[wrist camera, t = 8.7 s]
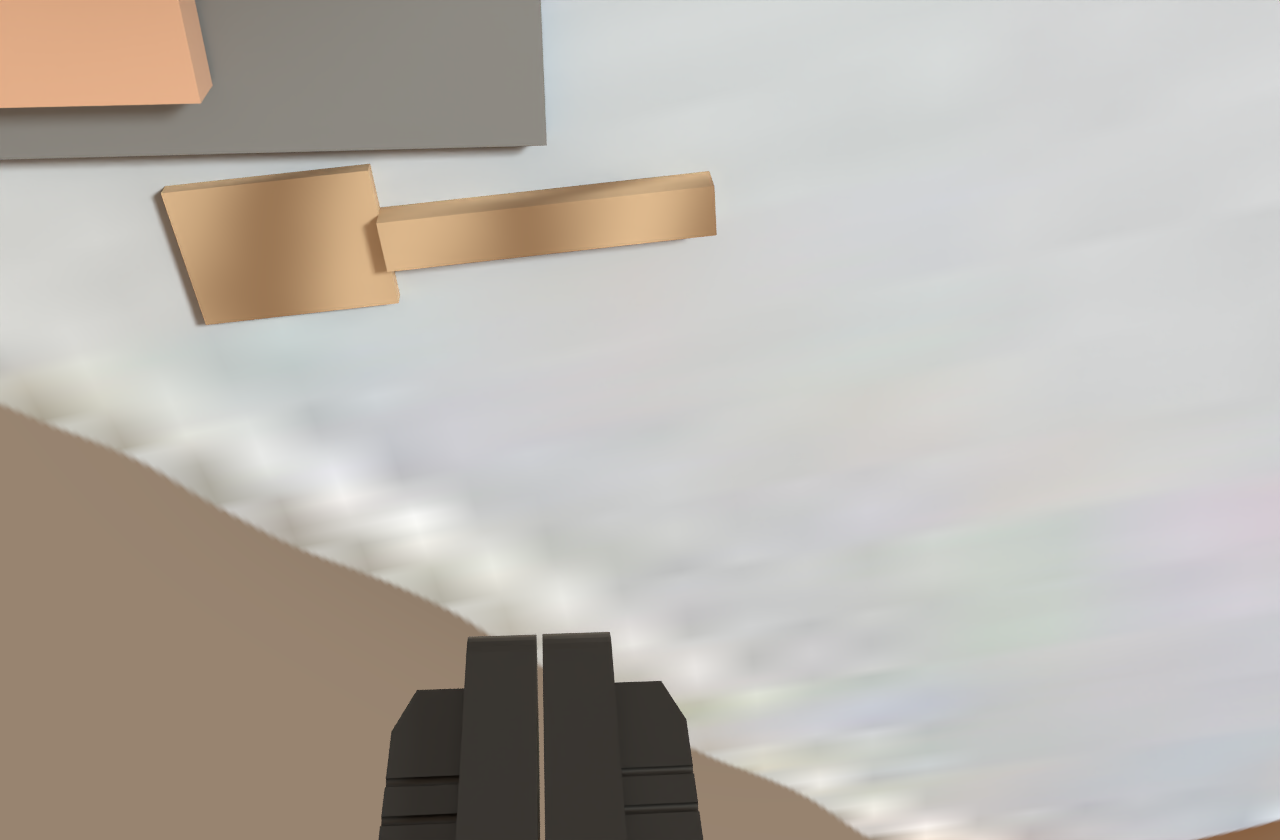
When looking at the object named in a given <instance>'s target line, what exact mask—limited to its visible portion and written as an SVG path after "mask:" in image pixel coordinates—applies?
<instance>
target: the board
mask: <svg viewBox="0 0 1280 840" xmlns="http://www.w3.org/2000/svg"><path fill="white" fill-rule="evenodd" d="M195 4H196V8H197V13H198V18H199V23H200V28H201V32H202V37H203V42H204V47H205V52H206V56H207V61H208V66H209V71H210V75H211V80H212V85H213V86H212V87H211V89H210V90H209V92H208V93H207V95H206V96H205V98H204V99H203V101H202V102H201V103H199V104H155V105H111V106H67V107H23V108H0V160H5V159H43V158H82V157H120V156H159V155H197V154H236V153H274V152H313V151H351V150H389V149H428V148H466V147H505V146H543V145H547V144H546V120H545V96H544V72H543V48H542V24H541V0H195Z"/></svg>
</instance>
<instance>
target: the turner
mask: <svg viewBox="0 0 1280 840" xmlns="http://www.w3.org/2000/svg"><path fill="white" fill-rule="evenodd" d="M161 196H162V198H163V201H164V204H165V207H166V210H167V213H168V216H169V219H170V222H171V225H172V228H173V230H174V233H175V236H176V239H177V242H178V245H179V248H180V251H181V254H182V257H183V260H184V263H185V265H186V268H187V271H188V274H189V277H190V280H191V283H192V286H193V289H194V292H195V295H196V298H197V300H198V303H199V306H200V309H201V312H202V315H203V318H204V321H205V324H206V325H209V324H218V323H227V322H236V321H244V320H253V319H262V318H271V317H280V316H289V315H298V314H306V313H315V312H324V311H333V310H342V309H351V308H360V307H368V306H377V305H386V304H395V303H399V297H400V293H399V289H398V284H397V280H396V276H395V271H401V270H410V269H419V268H428V267H437V266H446V265H454V264H463V263H472V262H481V261H490V260H499V259H508V258H517V257H526V256H535V255H544V254H552V253H561V252H570V251H579V250H588V249H597V248H606V247H615V246H624V245H633V244H642V243H650V242H659V241H668V240H677V239H686V238H695V237H704V236H713V235H716V214H715V192H714V184H713V181H712V178H711V175H710V172H709V171H707V172H698V173H689V174H680V175H670V176H661V177H652V178H643V179H634V180H625V181H616V182H607V183H598V184H589V185H580V186H571V187H562V188H553V189H544V190H535V191H526V192H517V193H508V194H499V195H490V196H481V197H471V198H462V199H453V200H444V201H435V202H426V203H417V204H408V205H399V206H390V207H381V208H380V206H379V201H378V197H377V193H376V188H375V184H374V179H373V175H372V171H371V166H370V164H364V165H355V166H345V167H336V168H327V169H318V170H309V171H300V172H291V173H282V174H272V175H263V176H254V177H245V178H236V179H227V180H218V181H209V182H199V183H190V184H181V185H172V186H165V187H164V189H163V191H162V192H161Z"/></svg>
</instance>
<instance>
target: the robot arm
mask: <svg viewBox="0 0 1280 840" xmlns="http://www.w3.org/2000/svg"><path fill="white" fill-rule="evenodd" d="M537 681H538V679H537V638H536V635H511V636H480V637H468V642H467V653H466V670H465V688H464V689H437V690H417V691H416V693H415V694H414V696H413V698H412V699H411V701H410V703H409V704H408V706H407V707H406V709H405V711H404V712H403V714H402V716H401V717H400V719H399V720H398V722H397V724H396V725H395V727H394V729H393V730H392V733H391V741H390V749H389V759H388V767H387V775H386V787H385V791H384V799H383V807H382V816H381V817H382V824H381V826H380V832H379V840H540V791H539V790H540V789H539V788H540V787H539V723H538V683H537ZM543 701H544V702H543V707H544V772H545V773H544V775H545V776H544V779H545V840H703V835H702V828H701V821H700V814H699V811H698V799H697V793H696V785H695V778H694V774H693V764H692V757H691V750H690V743H689V735H688V728H687V721H686V718H685V717H684V715H683V714H682V712H681V711H680V709H679V708H678V706H677V705H676V703H675V702H674V700H673V699H672V697H671V696H670V694H669V692H668V691H667V689H666V688H665V686H664V685H663V683H662V682H661V681H648V682H620V683H614V670H613V658H612V645H611V636H610V632H593V633H562V634H543Z"/></svg>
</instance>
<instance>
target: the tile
mask: <svg viewBox="0 0 1280 840" xmlns="http://www.w3.org/2000/svg"><path fill="white" fill-rule="evenodd" d="M212 86H213V85H212V80H211V75H210V71H209V66H208V61H207V56H206V52H205V47H204V42H203V37H202V32H201V28H200V23H199V18H198V13H197V8H196V4H195V0H0V108H23V107H67V106H111V105H155V104H199V103H201V102H202V101H203V99H204V98H205V96H206V95H207V93H208V92H209V90H210V89H211V87H212Z"/></svg>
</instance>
